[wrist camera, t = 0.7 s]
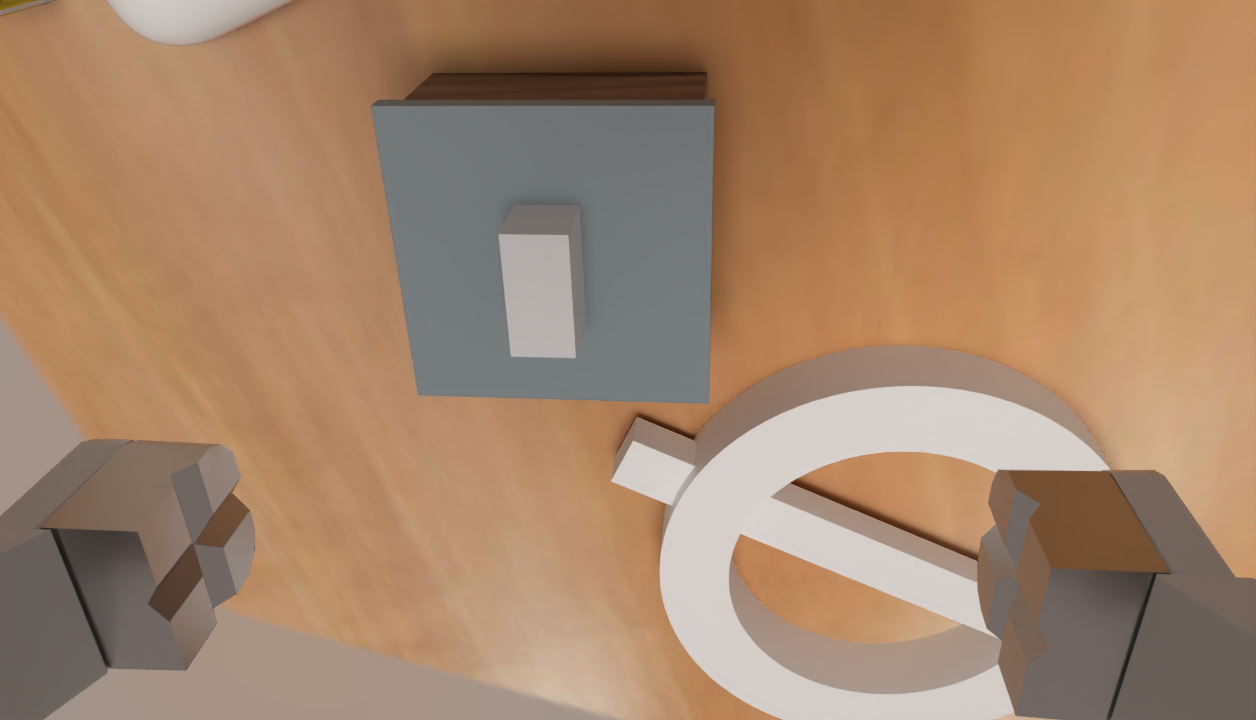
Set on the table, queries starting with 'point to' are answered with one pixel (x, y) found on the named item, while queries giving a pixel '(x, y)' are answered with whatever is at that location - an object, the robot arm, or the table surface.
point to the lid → (553, 245)
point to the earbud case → (189, 18)
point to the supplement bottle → (19, 5)
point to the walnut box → (562, 86)
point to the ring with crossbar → (842, 526)
